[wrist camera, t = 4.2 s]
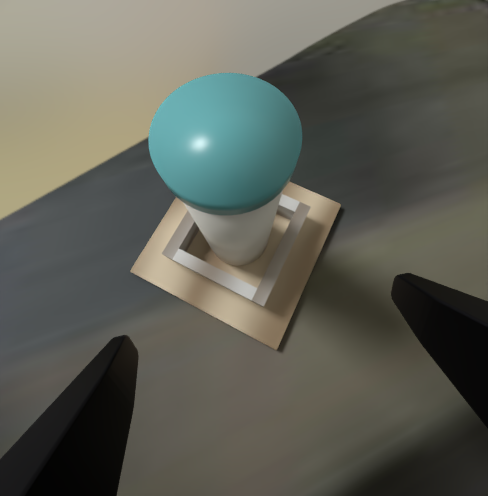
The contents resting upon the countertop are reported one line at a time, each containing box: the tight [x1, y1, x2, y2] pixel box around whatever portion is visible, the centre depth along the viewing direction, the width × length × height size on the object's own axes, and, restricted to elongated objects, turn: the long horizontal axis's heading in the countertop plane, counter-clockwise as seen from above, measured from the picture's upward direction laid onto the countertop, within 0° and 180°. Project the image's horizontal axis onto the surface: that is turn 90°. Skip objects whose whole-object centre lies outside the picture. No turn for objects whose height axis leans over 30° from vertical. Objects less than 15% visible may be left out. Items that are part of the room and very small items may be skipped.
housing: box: [130, 182, 341, 350], centre depth 21 cm, size 14×14×2 cm
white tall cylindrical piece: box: [149, 73, 302, 266], centre depth 15 cm, size 6×6×13 cm
